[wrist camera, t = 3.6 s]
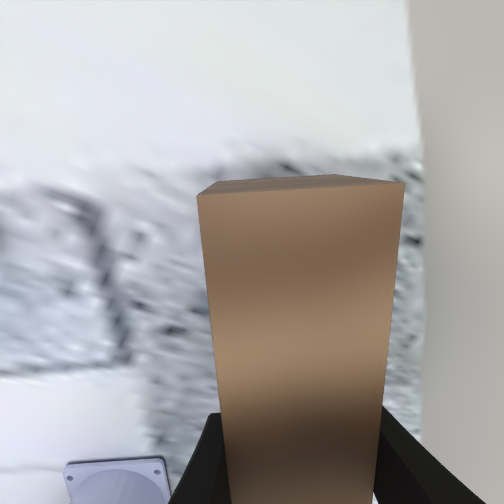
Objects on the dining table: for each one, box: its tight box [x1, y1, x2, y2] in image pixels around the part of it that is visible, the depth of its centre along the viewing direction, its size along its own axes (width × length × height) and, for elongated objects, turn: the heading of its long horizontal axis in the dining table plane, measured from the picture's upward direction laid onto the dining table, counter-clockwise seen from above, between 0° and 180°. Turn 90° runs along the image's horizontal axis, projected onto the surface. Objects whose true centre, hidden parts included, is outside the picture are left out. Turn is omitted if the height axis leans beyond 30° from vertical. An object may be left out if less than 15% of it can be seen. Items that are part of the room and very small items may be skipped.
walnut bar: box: [196, 174, 405, 504], centre depth 11 cm, size 15×4×5 cm, turn 3°
